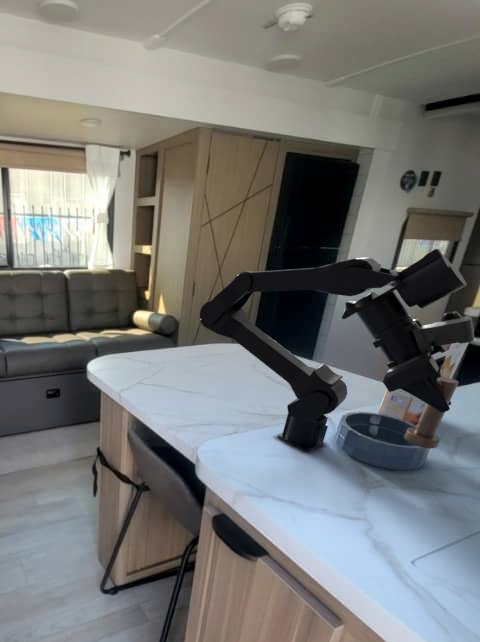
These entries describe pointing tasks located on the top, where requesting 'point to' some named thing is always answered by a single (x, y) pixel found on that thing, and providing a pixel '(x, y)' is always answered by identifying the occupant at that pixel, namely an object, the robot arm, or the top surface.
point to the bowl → (379, 441)
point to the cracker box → (409, 405)
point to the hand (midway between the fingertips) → (446, 408)
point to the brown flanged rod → (430, 419)
